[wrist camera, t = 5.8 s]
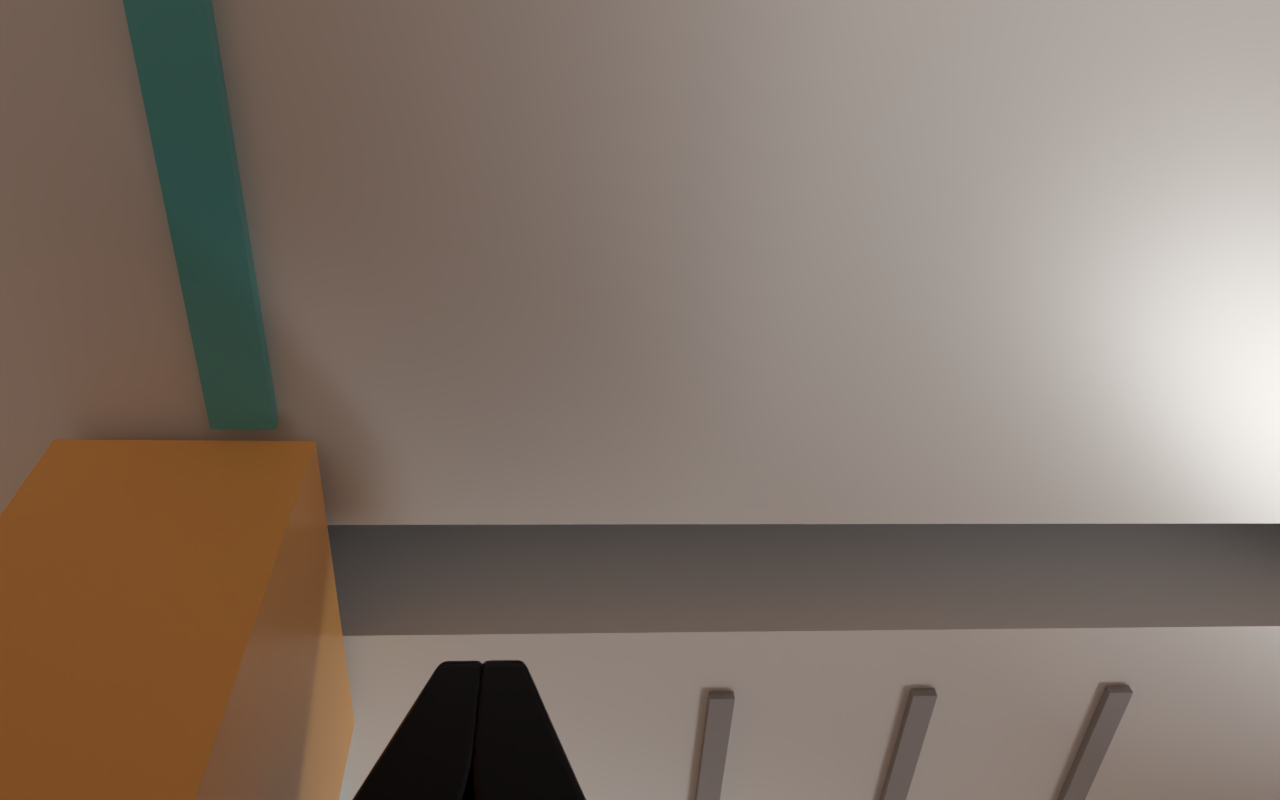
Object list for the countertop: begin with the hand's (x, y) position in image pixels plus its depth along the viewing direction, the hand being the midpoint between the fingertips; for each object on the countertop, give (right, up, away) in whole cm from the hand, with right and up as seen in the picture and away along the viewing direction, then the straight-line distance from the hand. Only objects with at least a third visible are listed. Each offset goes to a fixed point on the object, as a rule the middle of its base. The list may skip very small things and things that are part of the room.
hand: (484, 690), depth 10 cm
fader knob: (-3, +2, +4) cm, 5 cm away
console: (+2, +2, +4) cm, 5 cm away
